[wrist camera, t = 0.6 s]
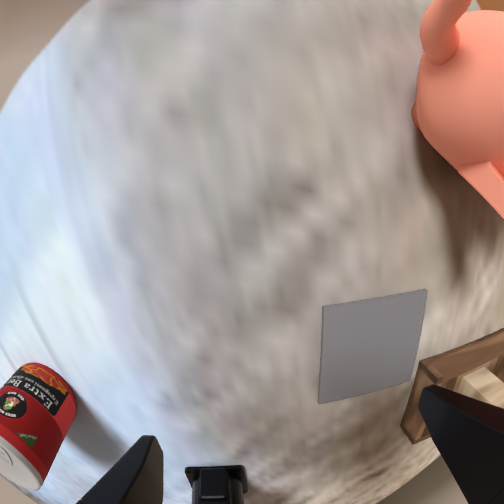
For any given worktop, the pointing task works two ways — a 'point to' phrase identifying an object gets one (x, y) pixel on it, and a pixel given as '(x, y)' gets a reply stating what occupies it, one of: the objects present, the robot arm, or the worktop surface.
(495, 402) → the maple block
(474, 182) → the teapot
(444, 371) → the box
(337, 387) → the rubber mat
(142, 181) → the worktop surface
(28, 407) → the canned food
